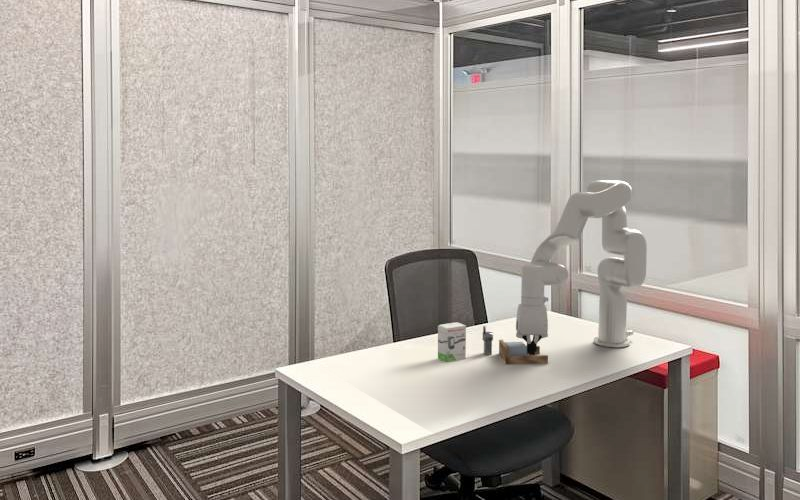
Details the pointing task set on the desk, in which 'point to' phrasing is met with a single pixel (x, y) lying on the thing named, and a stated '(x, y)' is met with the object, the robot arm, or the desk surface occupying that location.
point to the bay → (528, 359)
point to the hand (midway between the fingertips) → (531, 354)
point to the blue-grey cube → (517, 348)
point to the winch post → (487, 341)
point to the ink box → (451, 342)
